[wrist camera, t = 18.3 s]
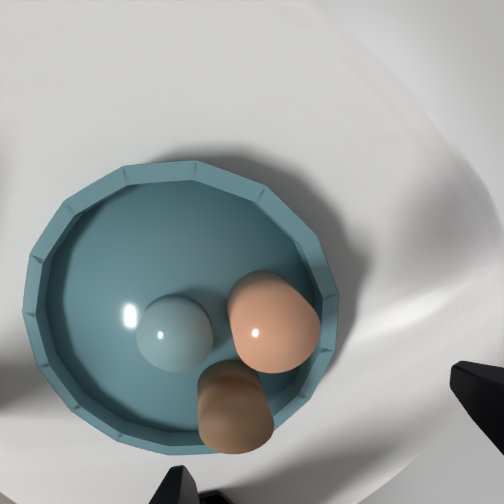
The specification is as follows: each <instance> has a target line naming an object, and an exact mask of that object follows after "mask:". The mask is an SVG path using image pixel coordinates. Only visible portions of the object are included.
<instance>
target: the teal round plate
mask: <svg viewBox="0 0 504 504" xmlns="http://www.w3.org/2000/svg"><path fill="white" fill-rule="evenodd" d="M259 270H268V271H272V272H276V273H278V274H280V275H281V276H283V277H284V278H285V279H286V280H287V281H288V282H289V283H290V284H291V285H292V286H293V287H294V288H295V289H296V290H297V291H298V292H299V293H300V295H301V296H302V297H303V298H304V299H305V300H306V301H307V302H308V303H309V304H310V305H311V306H312V308H313V309H314V310H315V312H316V313H317V316H318V318H319V322H320V337H319V341H318V344H317V346H316V348H315V349H314V351H313V353H312V354H311V355H310V356H309V357H308V358H307V360H305V361H304V362H303V363H302V364H300V365H299V366H297V367H295V368H293V369H291V370H288V371H285V372H281V373H264V372H260V371H257V370H256V372H257V373H258V375H259V378H260V381H261V384H262V387H263V390H264V393H265V396H266V399H267V402H268V405H269V408H270V411H271V413H272V416H273V419H274V424H275V425H274V430H275V429H277V428H278V427H279V426H280V425H281V424H283V423H284V422H285V421H286V420H287V419H288V418H290V417H291V416H292V415H293V414H294V413H295V412H296V411H297V410H299V409H300V408H301V407H302V406H303V405H304V404H305V403H306V402H307V401H309V400H310V399H311V397H312V395H313V393H314V391H315V389H316V387H317V385H318V384H319V382H320V380H321V378H322V376H323V374H324V372H325V370H326V368H327V366H328V364H329V362H330V360H331V358H332V356H333V354H334V352H335V346H336V332H337V317H338V299H339V293H338V290H337V287H336V285H335V282H334V279H333V277H332V274H331V271H330V269H329V266H328V263H327V261H326V258H325V256H324V253H323V251H322V248H321V245H320V243H319V240H318V238H317V235H316V234H315V233H314V232H313V231H312V230H311V229H310V228H309V227H308V226H307V225H306V224H305V223H304V222H303V221H302V220H301V219H300V218H299V217H298V216H297V215H296V214H295V213H294V212H293V211H292V210H291V209H290V208H289V207H288V206H287V205H286V204H285V203H284V202H283V201H282V200H281V199H280V198H279V197H278V196H276V195H275V194H274V193H273V192H272V191H271V190H270V189H269V188H268V187H267V186H266V185H263V184H261V183H258V182H255V181H253V180H250V179H247V178H245V177H242V176H239V175H237V174H234V173H231V172H229V171H226V170H223V169H220V168H217V167H215V166H212V165H209V164H206V163H203V162H200V161H198V160H189V161H174V162H161V163H149V164H138V165H128V166H122V167H120V168H118V169H117V170H115V171H113V172H111V173H110V174H108V175H106V176H104V177H103V178H101V179H99V180H97V181H96V182H94V183H92V184H91V185H89V186H87V187H86V188H84V189H82V190H81V191H79V192H77V193H76V194H74V195H72V196H71V197H69V198H68V199H66V200H65V201H64V202H63V203H62V204H61V206H60V207H59V209H58V210H57V212H56V213H55V215H54V216H53V218H52V219H51V221H50V222H49V224H48V225H47V227H46V228H45V230H44V231H43V233H42V235H41V236H40V238H39V239H38V241H37V243H36V244H35V246H34V248H33V249H32V251H31V253H30V255H29V262H28V268H27V275H26V282H25V290H24V299H23V309H22V313H23V317H24V321H25V325H26V329H27V333H28V336H29V340H30V343H31V347H32V350H33V353H34V357H35V360H36V363H37V366H38V368H39V369H40V371H41V372H42V373H43V375H44V376H45V378H46V379H47V380H48V382H49V383H50V385H51V386H52V387H53V389H54V390H55V391H56V393H57V394H58V395H59V396H60V398H61V399H62V400H63V402H64V403H65V404H66V405H67V407H68V408H69V409H70V410H71V411H72V412H73V413H75V414H76V415H77V416H79V417H80V418H82V419H83V420H85V421H86V422H87V423H89V424H90V425H92V426H93V427H95V428H96V429H98V430H100V431H101V432H103V433H104V434H106V435H107V436H109V437H111V438H112V439H114V440H115V441H117V442H121V443H124V444H127V445H131V446H134V447H138V448H141V449H145V450H149V451H153V452H156V453H161V454H165V455H196V454H212V453H221V452H217V451H215V450H213V449H211V448H209V447H208V446H207V445H206V444H205V443H204V442H203V441H202V439H201V438H200V435H199V425H198V390H197V385H198V379H199V377H200V375H201V373H202V372H203V371H204V370H205V369H206V368H207V367H209V366H210V365H212V364H214V363H216V362H219V361H223V360H237V361H242V362H243V360H242V359H241V358H240V356H239V355H238V353H237V350H236V347H235V343H234V338H233V334H232V330H231V326H230V321H229V317H228V313H227V306H226V305H227V297H228V294H229V292H230V290H231V288H232V286H233V285H234V284H235V283H236V281H238V280H239V279H240V278H241V277H243V276H244V275H246V274H248V273H251V272H254V271H259ZM244 363H245V362H244Z"/></svg>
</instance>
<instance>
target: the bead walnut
mask: <svg viewBox="0 0 504 504" xmlns="http://www.w3.org/2000/svg"><path fill="white" fill-rule="evenodd" d="M197 390H198V425H199V435H200V438H201V439H202V441H203V442H204V443H205V444H206V445H207V446H208V447H209V448H211V449H213V450H215V451H217V452H221V453H226V454H242V453H246V452H250V451H253V450H255V449H257V448H259V447H261V446H262V445H263V444H265V443H266V442H267V441H268V440H269V439H270V437H271V436H272V434H273V431H274V425H275V424H274V419H273V416H272V413H271V411H270V408H269V405H268V402H267V399H266V396H265V393H264V390H263V387H262V384H261V381H260V378H259V375H258V373H257V372H256V370H255V369H253V368H251V367H249V366H248V365H247V364H246V363H244V362H242V361H237V360H223V361H219V362H216V363H214V364H212V365H210V366H209V367H207V368H206V369H205V370H204V371H203V372H202V373H201V375H200V377H199V379H198V385H197Z"/></svg>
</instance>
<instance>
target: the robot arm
mask: <svg viewBox="0 0 504 504" xmlns="http://www.w3.org/2000/svg"><path fill="white" fill-rule="evenodd" d="M450 388H451V390H452V391H453V393H454V394H455V396H456V397H457V398H458V400H459V401H460V403H461V404H462V406H463V407H464V408H465V410H466V411H467V412H468V414H469V415H470V417H471V418H472V419H473V421H474V422H475V423H476V424H477V425H478V426H479V428H480V429H481V430H482V431H483V432H484V433H485V434H486V436H487V437H488V438H489V439H490V440H491V441H492V442H493V444H494V445H495V446H496V447H497V448H498V449H499V451H500V452H501V453H502V454H503V455H504V368H503V367H497V366H491V365H485V364H479V363H474V362H468V361H459V362H458V363H456V364H454V365H453V366H452V368H451V375H450ZM149 504H233V503H232V502H231V501H230V500H229V499H227V498H226V497H225V496H224V495H223V494H222V493H221V492H218V491H216V492H211V493H208V494H204V495H201V496H198V492H197V487H196V483H195V481H194V479H193V477H192V476H191V474H190V473H189V471H188V470H187V468H186V467H185V466H183V465H180V466H174V467H171V468H170V469H169V471H168V473H167V474H166V476H165V478H164V479H163V481H162V483H161V484H160V486H159V487H158V489H157V491H156V492H155V494H154V496H153V497H152V499H151V500H150V502H149Z"/></svg>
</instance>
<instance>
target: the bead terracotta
mask: <svg viewBox="0 0 504 504" xmlns="http://www.w3.org/2000/svg"><path fill="white" fill-rule="evenodd" d="M226 306H227V313H228V317H229V321H230V326H231V330H232V334H233V338H234V343H235V347H236V350H237V353H238V355H239V356H240V358H241V359H242V360H243V362H245V363H246V364H247V365H248V366H249V367H251V368H253V369H255V370H257V371H260V372H264V373H281V372H285V371H288V370H291V369H293V368H295V367H297V366H299V365H300V364H302V363H303V362H304V361H305V360H307V358H308V357H309V356H310V355H311V354H312V353H313V351H314V349H315V348H316V346H317V344H318V341H319V337H320V322H319V318H318V316H317V313H316V312H315V310H314V309H313V308H312V306H311V305H310V304H309V303H308V302H307V301H306V300H305V299H304V298H303V297H302V296H301V295H300V293H299V292H298V291H297V290H296V289H295V288H294V287H293V286H292V285H291V284H290V283H289V282H288V281H287V280H286V279H285V278H284V277H283V276H281V275H280V274H278V273H276V272H272V271H268V270H259V271H254V272H251V273H248V274H246V275H244V276H243V277H241V278H240V279H239V280H238V281H236V283H235V284H234V285H233V286H232V288H231V290H230V292H229V294H228V297H227V305H226Z"/></svg>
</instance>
